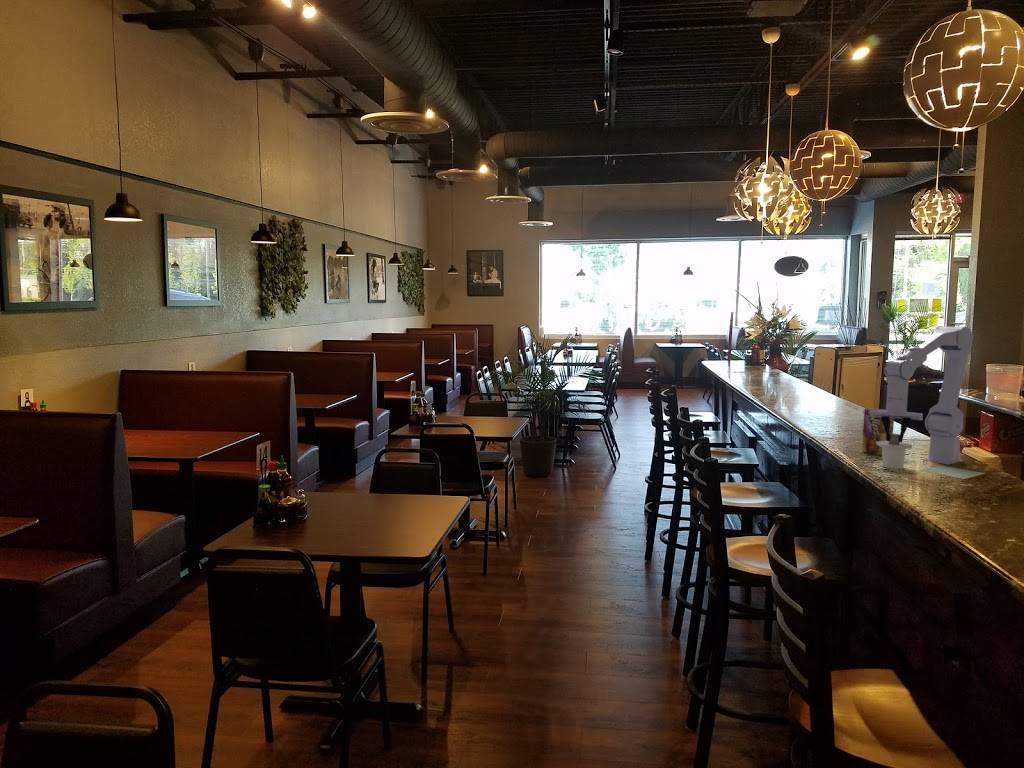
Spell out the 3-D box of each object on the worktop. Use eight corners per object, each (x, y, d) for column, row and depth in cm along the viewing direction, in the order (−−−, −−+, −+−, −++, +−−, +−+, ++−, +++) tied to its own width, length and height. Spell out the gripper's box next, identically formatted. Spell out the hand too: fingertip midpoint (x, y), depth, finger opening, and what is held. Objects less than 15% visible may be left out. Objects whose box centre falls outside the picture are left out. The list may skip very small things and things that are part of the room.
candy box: (892, 455, 251) (895, 410, 249) (883, 456, 249) (886, 411, 247) (869, 450, 259) (872, 407, 257) (861, 451, 257) (863, 408, 255)
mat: (940, 466, 234) (940, 465, 234) (985, 474, 223) (985, 473, 223) (919, 471, 227) (919, 470, 227) (964, 480, 216) (964, 478, 216)
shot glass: (907, 470, 228) (909, 448, 227) (883, 469, 229) (885, 447, 229) (900, 465, 235) (902, 444, 234) (877, 464, 236) (879, 443, 235)
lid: (887, 441, 238) (888, 430, 238) (918, 446, 230) (919, 435, 229) (869, 444, 232) (870, 433, 232) (901, 450, 224) (901, 438, 224)
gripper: (871, 398, 229) (868, 441, 231) (924, 401, 223) (921, 445, 224) (871, 395, 235) (868, 437, 237) (923, 398, 229) (920, 441, 231)
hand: (894, 441), depth 231 cm, fingers closed on lid, 3 cm apart
